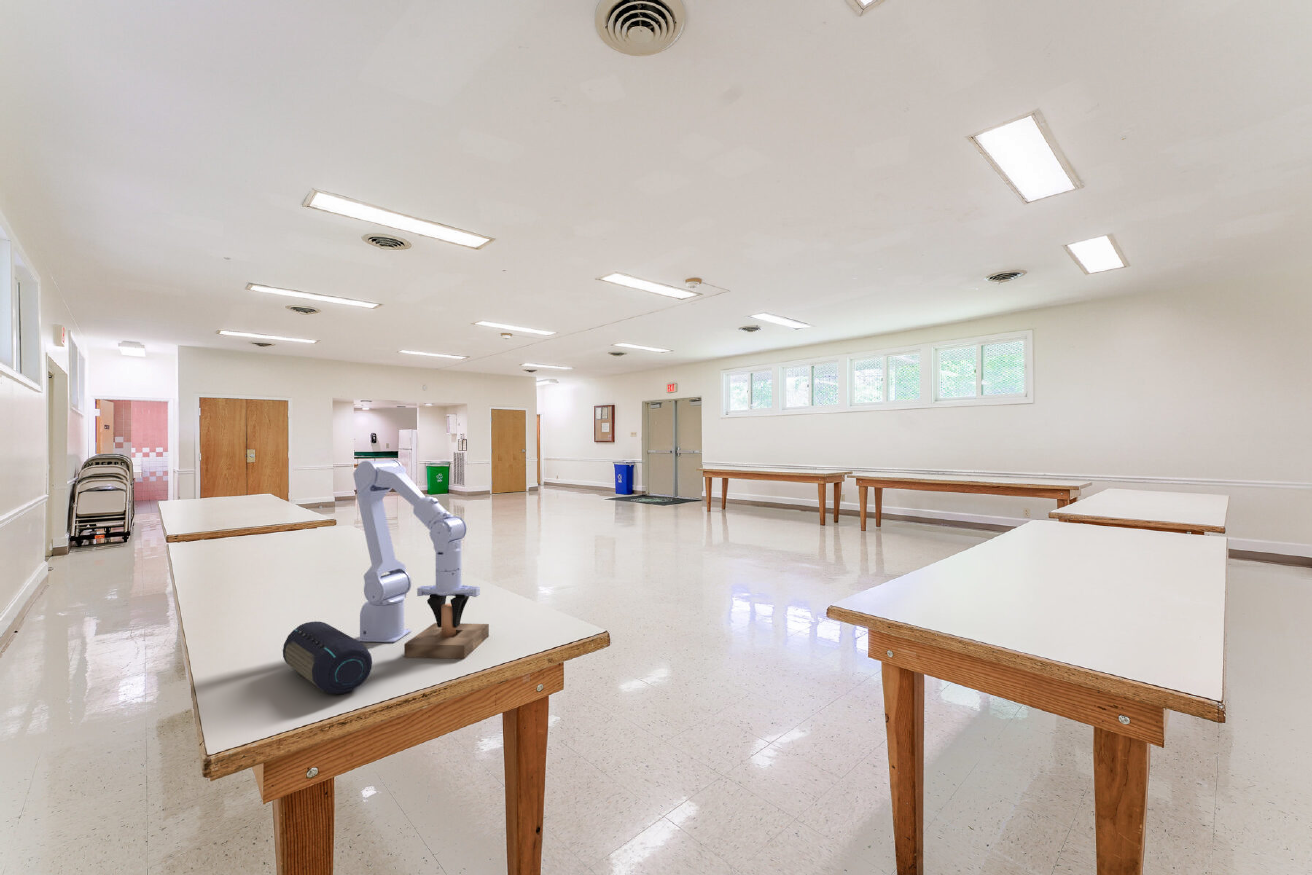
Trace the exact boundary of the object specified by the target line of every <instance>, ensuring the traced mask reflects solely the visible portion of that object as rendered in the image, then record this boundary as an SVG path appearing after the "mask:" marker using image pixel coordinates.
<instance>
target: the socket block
mask: <svg viewBox="0 0 1312 875" xmlns="http://www.w3.org/2000/svg"><path fill="white" fill-rule="evenodd" d="M489 628H490V624H489V623H463V622H462V623H461V622H460V625H459V626H458V627H457V628H456V635H455V636H452V637H442V636H441V627H438V626H437V622H433V624H431V625H429V626H428V627H427V628H425V629H424V630H422V631H421V632H419V633H418V634H417V635H415V636H414V637H412V638H411V639H409V640H408V641H406V642H405V643H404V646H403V647H404V649H403V650H404V654H403V655H404V657H403V658H414V659H415V658H419V659H421V658H422V659H456V660H458V659H459V660H461V659H463V660H465V659H466V658H467V657H468V656H470V654H472V652H474V651H475V649H477V648H478V647H479V646H480V645H481V644H482V643H483V642H484V641H486V639H487V638H488V637H489V636H490V635H489V634H490V629H489Z"/></svg>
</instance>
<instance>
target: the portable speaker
mask: <svg viewBox="0 0 1312 875" xmlns="http://www.w3.org/2000/svg"><path fill="white" fill-rule="evenodd" d="M282 656H283V660H284V662H285V663H286V664H287V665H289V667H290V668H291V669H293V670H294V671H296V672H297V673H299V674H300V675H301V676H303V677H304V678H305V679H306V680H308V681H309V682H310V683H312V684H313V685H315V687H317V688H318V689H319V690H321V691H322V692H323V693H324V692H325V693H327V694H331V695H337V694H345V693H348V692H351V691H353V690H355V689H357V688H359V687H360V686H362V684H363V683H364V682H365V681H366V680H367V679H368V678H369V676H370V674H371V670H372V668H373V666H372V665H373V658H372V655H371V653H370V651H369V650H368V648H367V646H366V645H365V644H364V643H363V642H362V641H358V639H355V638H353V637H351V635H348V634H347V633H344V632H342V630H339V629H337V628H335V627H334V626H332V625H330V624H328V623H326V622H323V621H307V622H305V623H302V624H300V625H299V626H297V627H295V629H293V630H292V631H291V632H290V633H289V634H288V635H287V637H286V640H285V641H284V643H283V648H282Z"/></svg>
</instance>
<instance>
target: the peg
mask: <svg viewBox="0 0 1312 875" xmlns="http://www.w3.org/2000/svg"><path fill="white" fill-rule="evenodd" d="M455 635H456V628H453V611H452V605H451V602H450V603H445V604H444V605H442V606H441V636H442V637H452V636H455Z"/></svg>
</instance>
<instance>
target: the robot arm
mask: <svg viewBox="0 0 1312 875" xmlns="http://www.w3.org/2000/svg"><path fill="white" fill-rule="evenodd" d="M352 475H353V479H354V484H355V485H354V486H355V488H356V489H355V490H356V496H357V503H358V507H359V514H360V515H361V516H360V517H361V521H362V526H363V530H364V535H365V539H366V544H367V549H368V553H369V558H370V563H371V566H370V567H369V568H368V569H367V571H366V572H365V573H364V575H363V580H364V581H363V582H364V586H363V593H364V598H365V599H366V602H365V603H363V604H362V606H361V610H360V613H359V638H358V639H357V641H359V642H366V643H367V642H368V643H370V642H372V643H374V642H375V643H396V642H397V641H399V640H400V639H402V638H403V637H405V636H406V635H408V634H409V633H411V632H412V629H411V628H405V598H407V594H408V593H409V592H410V591H411V588H412V578H411V576H410V574H409V573H408V571H407V569H406V564H405V563H403V562H402V561H399V560H398V559H396V556H395V550H394V546H393V541H392V537H391V532H390V528H389V523H388V518H387V515H386V514H387V513H386V509H385V505H384V498H385V496H386V495H387V494H389V492H390V491H391V490H394V491H395V492H396V493H398V494H399V495H400V497H402V498H403V499H404V500H406V501H407V502H408V503H409V504H410V505H412V507H413V511H412V513H413V515H414V516H415V517H416V518H417V520H419V521H420V522H421V523H422V524H423V525H424V526H425V527H426V528H427V529H428V530H429V537H430V540H431V541H432V543H433V550H434V552H435V584H433V585H420V586H418V587H417V588H416V593H417V595H416V597H423V596H429V598H428V599H427V600H426V601H427V604H428V605H429V607H430V609H431V610H432V613H433V616H434V618H435V621H436V622H435V623H437V626H438V627H441V606H442V605H444V604H447V603H446V601H447V596H448V597H453V598H451V599H450V601H449V602H450V603H451V605H452V611H453V628H457V627H458V626H459V625H460V623H461V620H462V616H463V612H464V609H465V607H466V605H467V603H468V600H469V598H470V597H472V598H478V597H479V596H480V595H481V590H480V588H481V587H480V586H473V585H465V584H462V540H463V538H465V536H466V534H467V525H466V522H465V521H464V519H463V518H462V517H461V516H459V515H458V516H457V515H456V516H455V515H453V514H451V512H449V511H447V510H446V509H445V507H443V506H442V505H441V504H440V502H439V499H437V497H433V496H425V495H424V493H423V492H422V490H420V488H419V487H418V486H417V485H416V484H415V482H413V480H412V479H411V478H410V477H409V475H408V474H407V469H406V467H405V466H403V465H402V463H401V462H400V461H399V460H397V459H390V460H373V461H372V460H363V461H361V462H360V463H359V464H358V465H357V467H356V469H355V470H354V472H353V473H352Z"/></svg>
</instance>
